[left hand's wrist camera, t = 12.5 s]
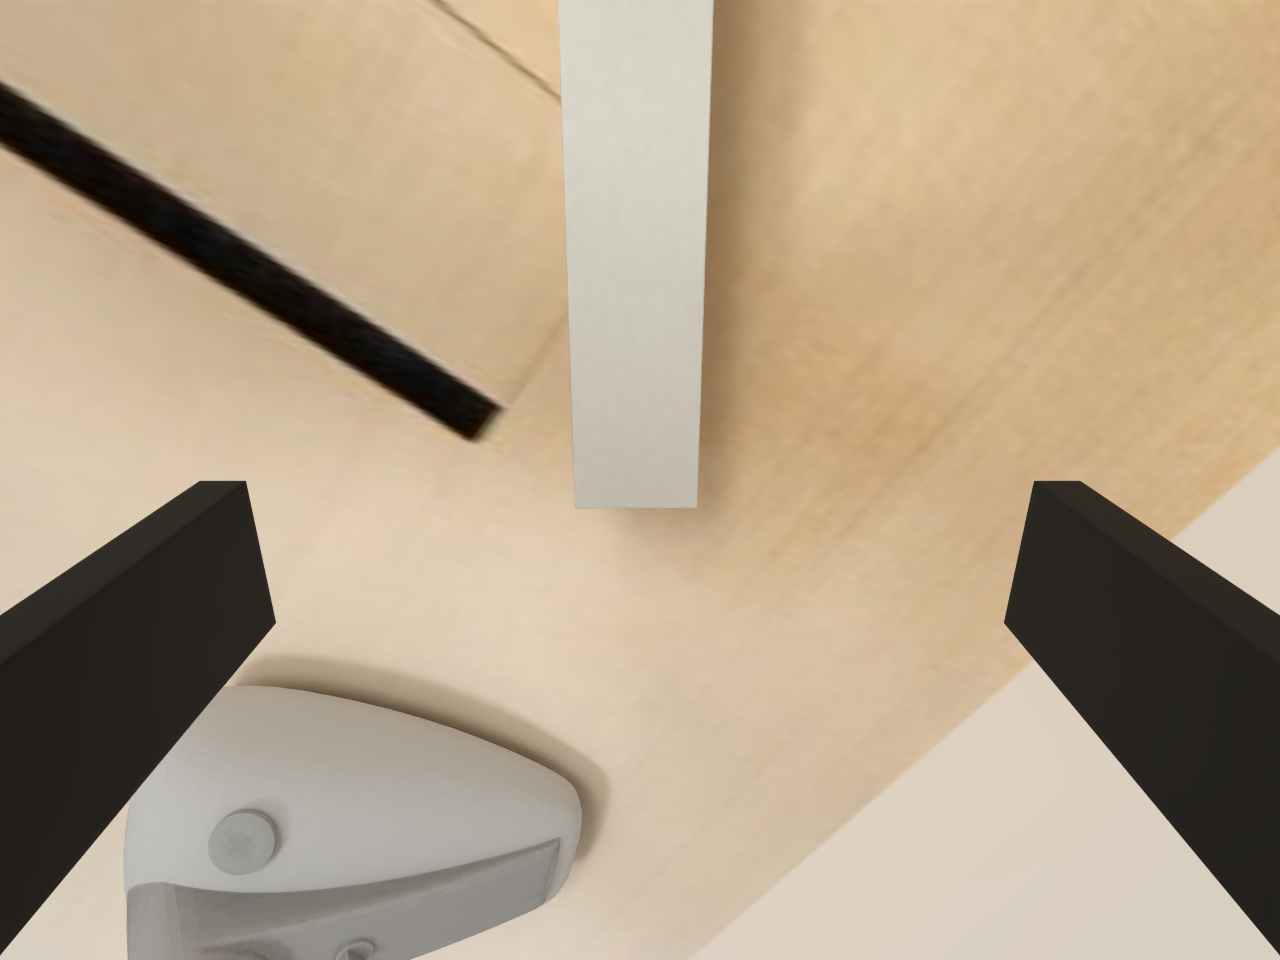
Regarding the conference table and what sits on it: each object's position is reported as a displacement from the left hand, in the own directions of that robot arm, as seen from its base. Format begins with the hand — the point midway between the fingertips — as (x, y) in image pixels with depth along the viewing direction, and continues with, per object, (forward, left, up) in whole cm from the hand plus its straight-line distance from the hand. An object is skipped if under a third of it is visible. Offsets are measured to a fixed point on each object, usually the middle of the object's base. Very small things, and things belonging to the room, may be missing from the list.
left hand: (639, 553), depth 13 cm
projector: (-23, -22, -24) cm, 40 cm away
